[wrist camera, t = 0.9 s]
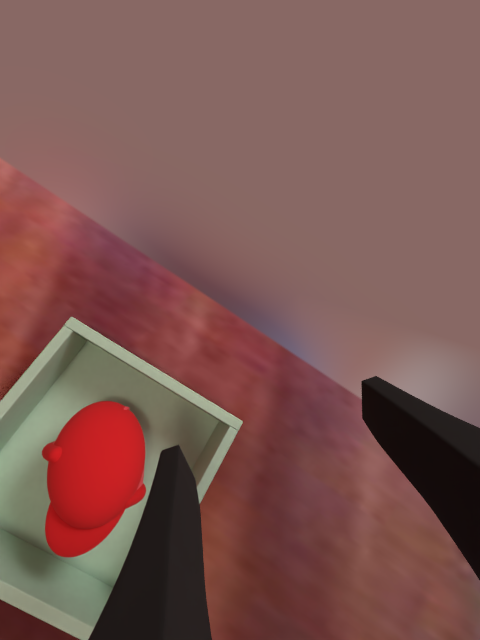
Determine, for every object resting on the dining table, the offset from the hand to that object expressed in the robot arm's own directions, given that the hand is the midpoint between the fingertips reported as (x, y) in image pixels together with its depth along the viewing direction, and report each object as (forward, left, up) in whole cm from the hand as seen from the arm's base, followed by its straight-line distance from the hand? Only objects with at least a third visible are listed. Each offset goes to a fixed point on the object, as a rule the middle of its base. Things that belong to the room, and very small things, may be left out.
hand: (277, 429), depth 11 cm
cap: (-7, +5, -14) cm, 16 cm away
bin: (-7, +5, -14) cm, 17 cm away
